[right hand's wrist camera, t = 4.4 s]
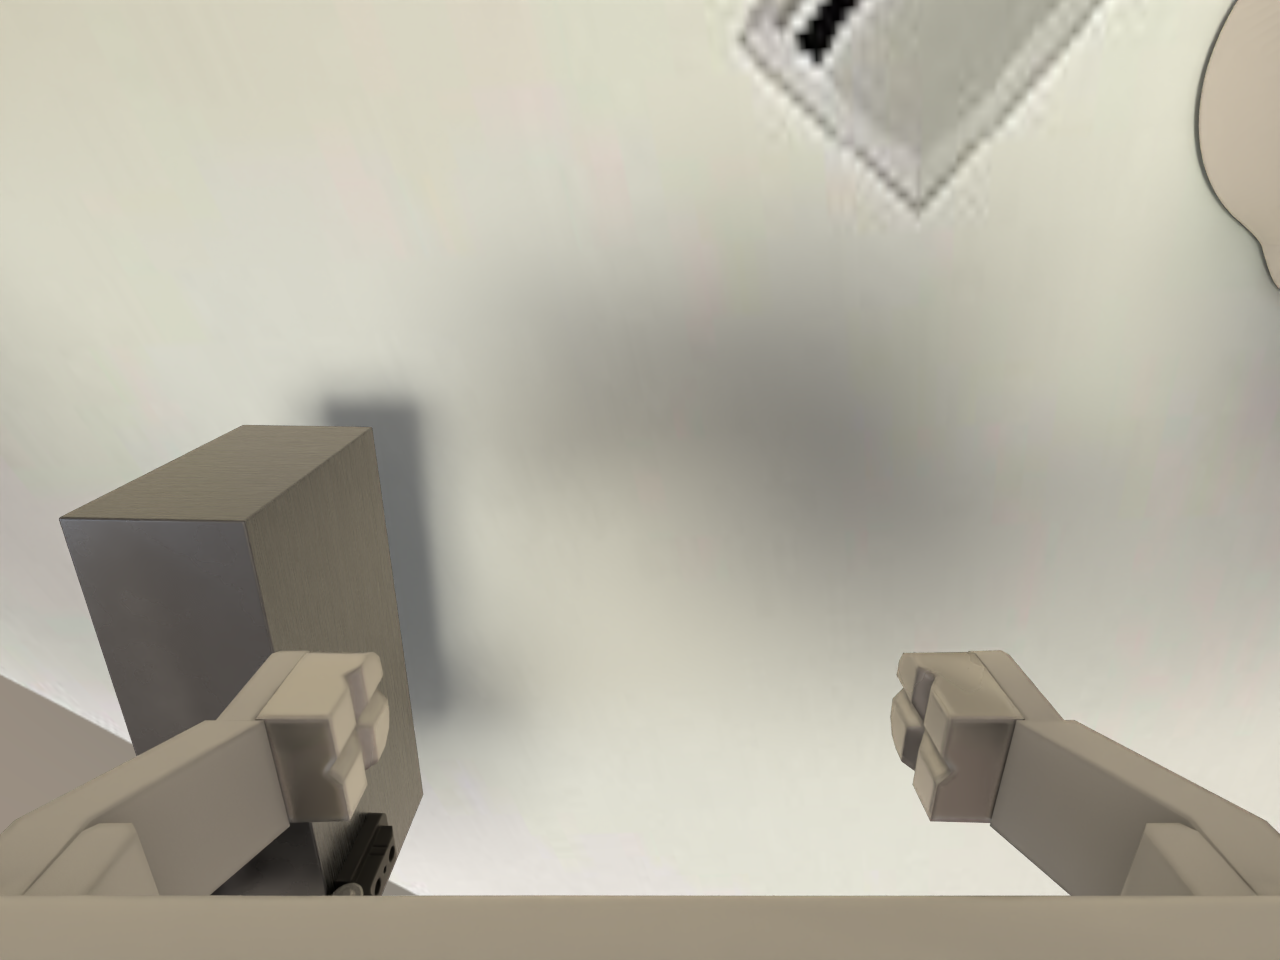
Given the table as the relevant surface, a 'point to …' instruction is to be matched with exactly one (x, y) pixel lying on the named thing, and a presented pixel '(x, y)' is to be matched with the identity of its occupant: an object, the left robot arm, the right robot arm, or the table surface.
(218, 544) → the box
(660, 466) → the table surface
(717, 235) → the table surface
